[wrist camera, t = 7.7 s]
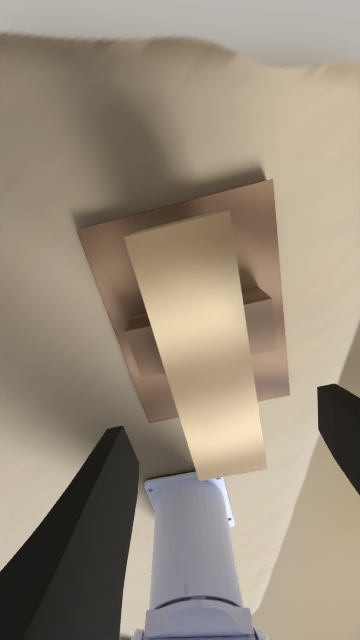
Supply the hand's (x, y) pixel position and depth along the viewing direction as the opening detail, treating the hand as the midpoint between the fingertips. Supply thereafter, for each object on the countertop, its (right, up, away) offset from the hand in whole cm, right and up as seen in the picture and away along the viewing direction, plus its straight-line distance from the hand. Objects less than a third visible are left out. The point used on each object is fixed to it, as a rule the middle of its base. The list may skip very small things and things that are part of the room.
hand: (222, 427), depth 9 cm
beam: (0, +3, +6) cm, 7 cm away
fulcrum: (0, +4, +10) cm, 10 cm away
